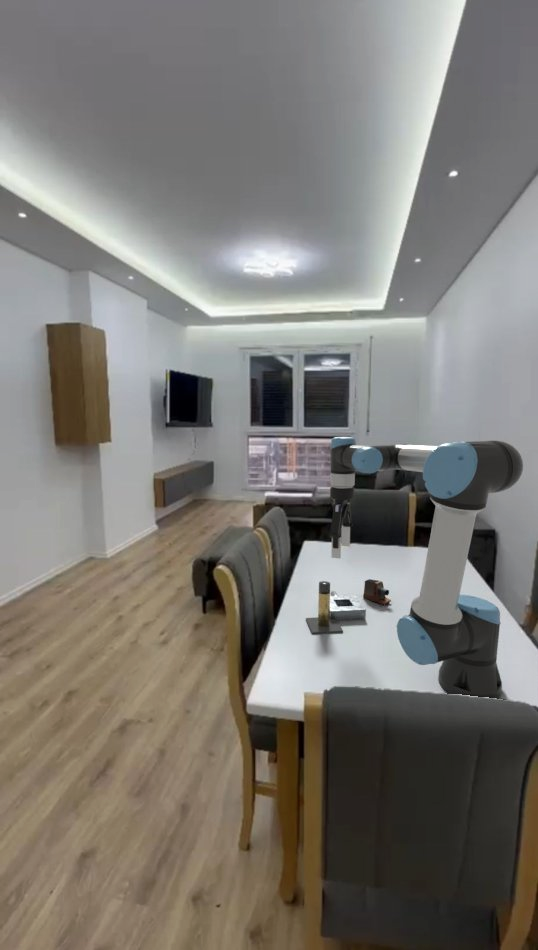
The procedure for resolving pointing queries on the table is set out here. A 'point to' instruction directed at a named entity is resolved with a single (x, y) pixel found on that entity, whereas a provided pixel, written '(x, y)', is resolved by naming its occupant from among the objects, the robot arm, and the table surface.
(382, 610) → the table surface
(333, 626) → the pad
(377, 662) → the table surface
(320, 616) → the gold and black cylinder
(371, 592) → the electronic device
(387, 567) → the table surface
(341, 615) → the block
